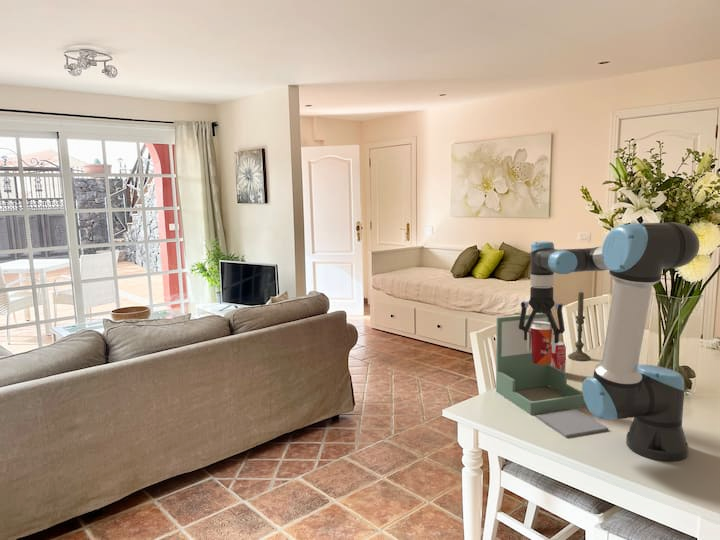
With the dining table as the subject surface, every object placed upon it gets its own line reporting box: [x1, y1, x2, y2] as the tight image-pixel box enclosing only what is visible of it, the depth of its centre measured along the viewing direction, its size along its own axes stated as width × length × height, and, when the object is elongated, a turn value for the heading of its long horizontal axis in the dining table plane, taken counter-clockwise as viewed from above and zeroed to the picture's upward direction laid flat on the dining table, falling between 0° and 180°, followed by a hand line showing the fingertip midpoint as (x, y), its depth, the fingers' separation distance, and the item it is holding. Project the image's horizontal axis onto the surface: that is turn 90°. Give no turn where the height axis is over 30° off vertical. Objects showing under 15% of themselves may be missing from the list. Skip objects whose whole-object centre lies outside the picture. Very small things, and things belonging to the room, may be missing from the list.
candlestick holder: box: [567, 291, 591, 362], centre depth 225 cm, size 9×9×30 cm
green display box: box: [495, 313, 587, 416], centre depth 182 cm, size 22×22×28 cm
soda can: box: [550, 340, 567, 373], centre depth 207 cm, size 7×7×13 cm
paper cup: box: [530, 321, 553, 365], centre depth 180 cm, size 8×8×14 cm
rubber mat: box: [535, 408, 609, 438], centre depth 163 cm, size 15×15×1 cm
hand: (541, 350), depth 181 cm, fingers closed on paper cup, 8 cm apart
